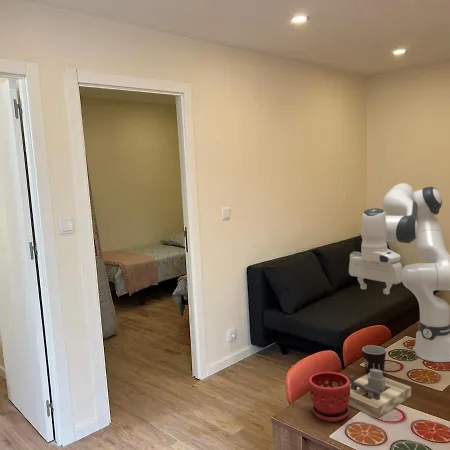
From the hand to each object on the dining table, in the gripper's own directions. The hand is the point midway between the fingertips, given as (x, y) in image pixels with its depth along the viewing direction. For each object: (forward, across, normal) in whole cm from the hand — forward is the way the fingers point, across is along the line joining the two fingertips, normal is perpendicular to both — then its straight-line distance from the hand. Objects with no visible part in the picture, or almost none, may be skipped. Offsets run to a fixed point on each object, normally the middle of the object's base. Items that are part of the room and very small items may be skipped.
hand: (374, 291), depth 163 cm
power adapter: (+34, +7, -10) cm, 37 cm away
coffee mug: (+35, -4, +5) cm, 35 cm away
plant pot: (+34, +3, -30) cm, 46 cm away
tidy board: (+34, +7, -12) cm, 37 cm away
